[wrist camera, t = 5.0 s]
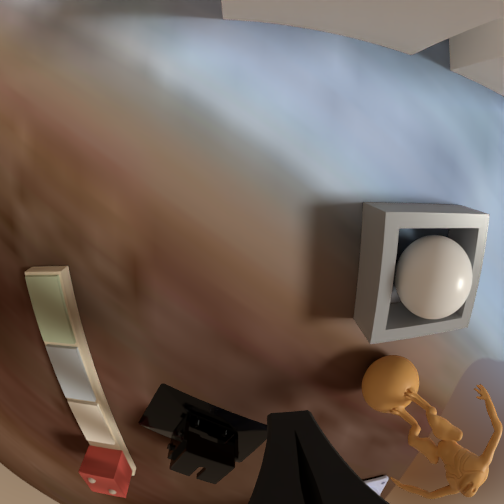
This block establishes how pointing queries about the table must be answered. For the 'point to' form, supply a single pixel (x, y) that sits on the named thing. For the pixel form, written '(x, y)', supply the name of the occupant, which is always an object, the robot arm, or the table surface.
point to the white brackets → (399, 27)
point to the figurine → (452, 454)
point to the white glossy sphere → (433, 277)
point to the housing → (384, 259)
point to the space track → (79, 379)
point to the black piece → (201, 434)
